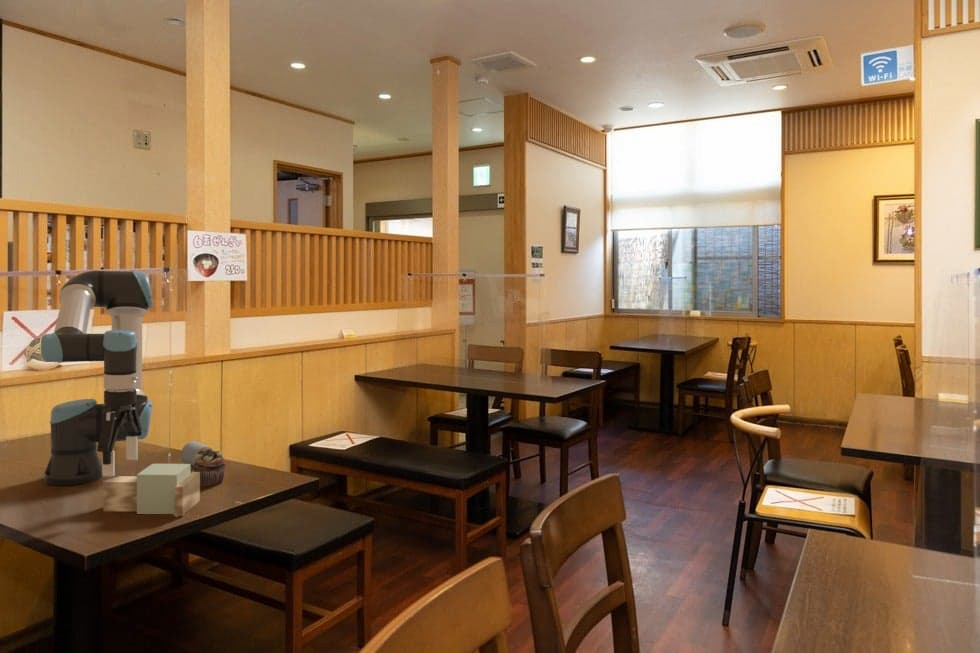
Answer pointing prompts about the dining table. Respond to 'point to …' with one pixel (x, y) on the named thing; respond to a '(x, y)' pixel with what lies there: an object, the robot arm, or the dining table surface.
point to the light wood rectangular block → (120, 493)
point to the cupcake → (210, 467)
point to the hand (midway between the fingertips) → (120, 467)
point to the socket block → (159, 487)
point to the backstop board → (187, 493)
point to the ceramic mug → (192, 451)
